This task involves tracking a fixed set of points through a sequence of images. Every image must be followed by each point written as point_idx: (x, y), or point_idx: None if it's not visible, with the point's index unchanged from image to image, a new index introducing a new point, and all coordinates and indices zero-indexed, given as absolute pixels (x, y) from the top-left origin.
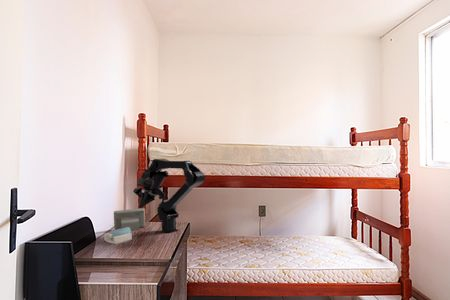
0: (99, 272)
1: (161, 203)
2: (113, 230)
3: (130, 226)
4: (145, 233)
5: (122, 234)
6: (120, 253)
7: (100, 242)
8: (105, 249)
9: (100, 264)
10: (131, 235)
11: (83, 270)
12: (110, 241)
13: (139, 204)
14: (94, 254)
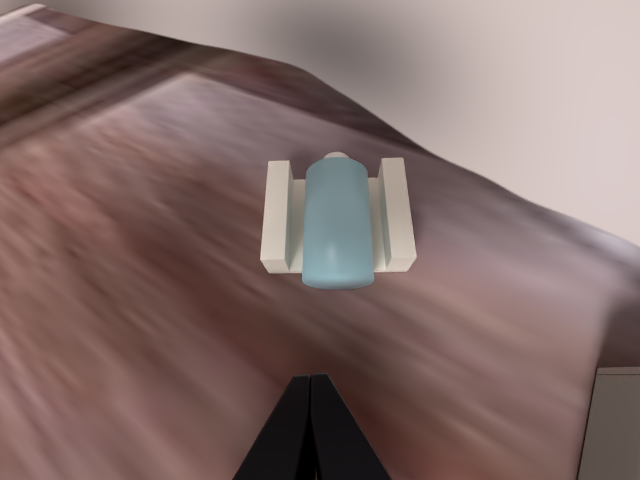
0: (43, 43)
1: None
2: (333, 162)
3: (611, 447)
4: None
5: (304, 219)
6: (127, 140)
7: None
8: (241, 129)
9: (97, 64)
10: (262, 262)
11: (104, 27)
12: None
13: (335, 401)
14: (218, 85)
